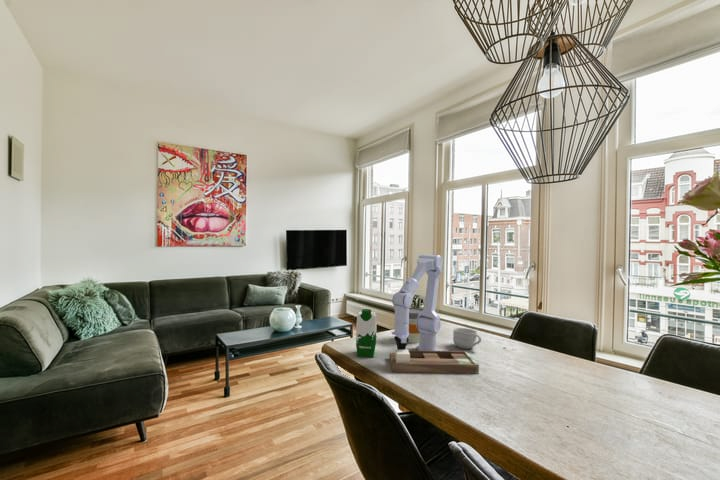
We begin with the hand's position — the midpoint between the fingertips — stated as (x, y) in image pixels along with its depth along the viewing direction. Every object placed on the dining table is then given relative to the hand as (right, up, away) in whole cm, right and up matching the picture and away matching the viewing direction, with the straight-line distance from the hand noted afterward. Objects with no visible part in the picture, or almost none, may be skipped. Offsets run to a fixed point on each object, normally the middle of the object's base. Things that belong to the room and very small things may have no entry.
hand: (401, 354), depth 135 cm
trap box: (+12, -4, 0) cm, 13 cm away
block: (0, -1, -4) cm, 4 cm away
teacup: (+34, -4, +21) cm, 40 cm away
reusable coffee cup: (+10, -3, +31) cm, 32 cm away
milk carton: (-14, -3, +10) cm, 18 cm away
